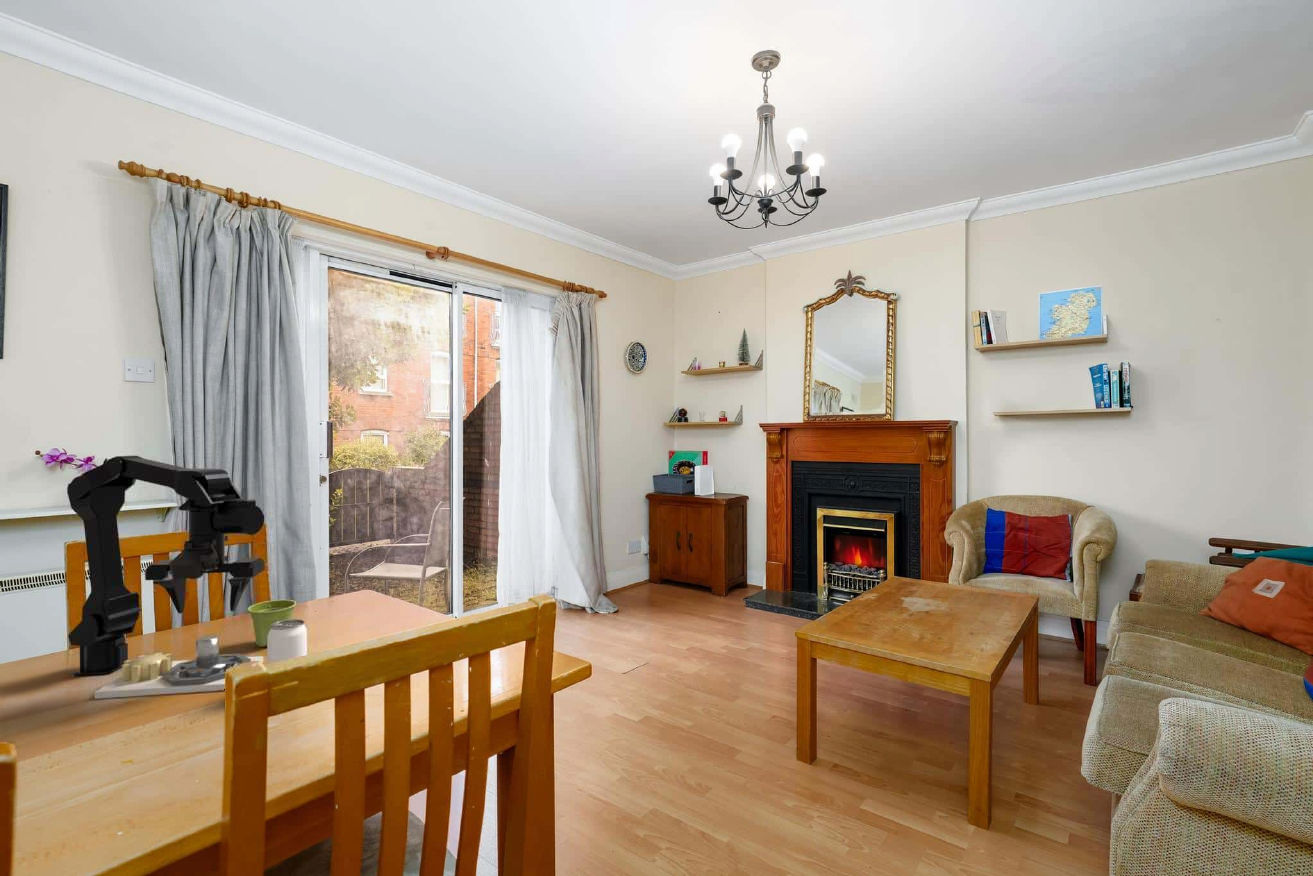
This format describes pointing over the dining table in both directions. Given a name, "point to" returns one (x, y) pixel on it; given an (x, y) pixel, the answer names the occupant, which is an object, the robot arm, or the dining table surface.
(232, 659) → the planet gear
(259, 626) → the plant pot
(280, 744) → the dining table surface
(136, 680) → the plate
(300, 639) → the can
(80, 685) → the dining table surface
